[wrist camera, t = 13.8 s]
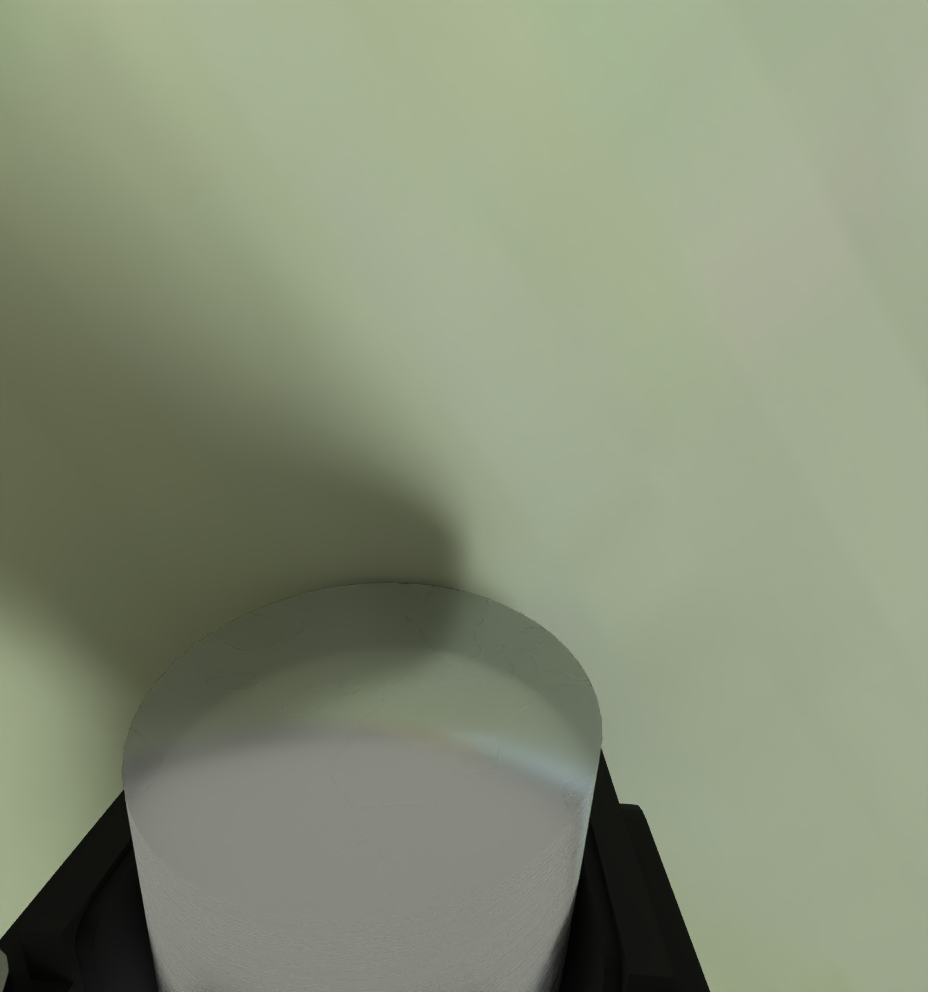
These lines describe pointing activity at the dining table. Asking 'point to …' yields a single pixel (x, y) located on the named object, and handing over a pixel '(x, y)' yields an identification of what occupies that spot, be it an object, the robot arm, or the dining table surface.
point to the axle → (364, 798)
